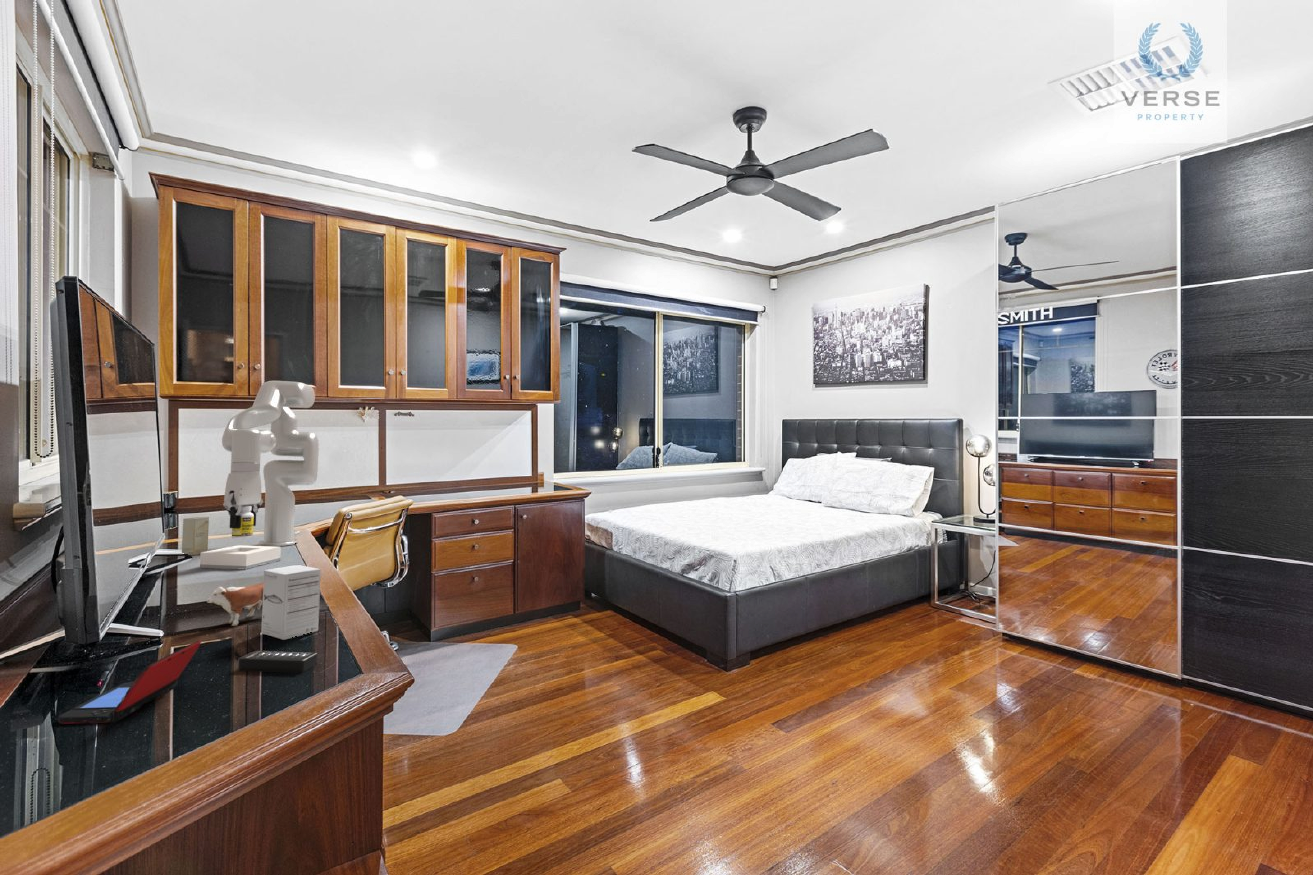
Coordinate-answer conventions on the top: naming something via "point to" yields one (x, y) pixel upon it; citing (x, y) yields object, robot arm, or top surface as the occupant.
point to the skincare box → (195, 535)
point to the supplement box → (290, 601)
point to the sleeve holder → (239, 557)
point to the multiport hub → (277, 661)
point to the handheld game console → (133, 691)
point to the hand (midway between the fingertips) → (242, 526)
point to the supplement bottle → (244, 524)
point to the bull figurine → (238, 600)
